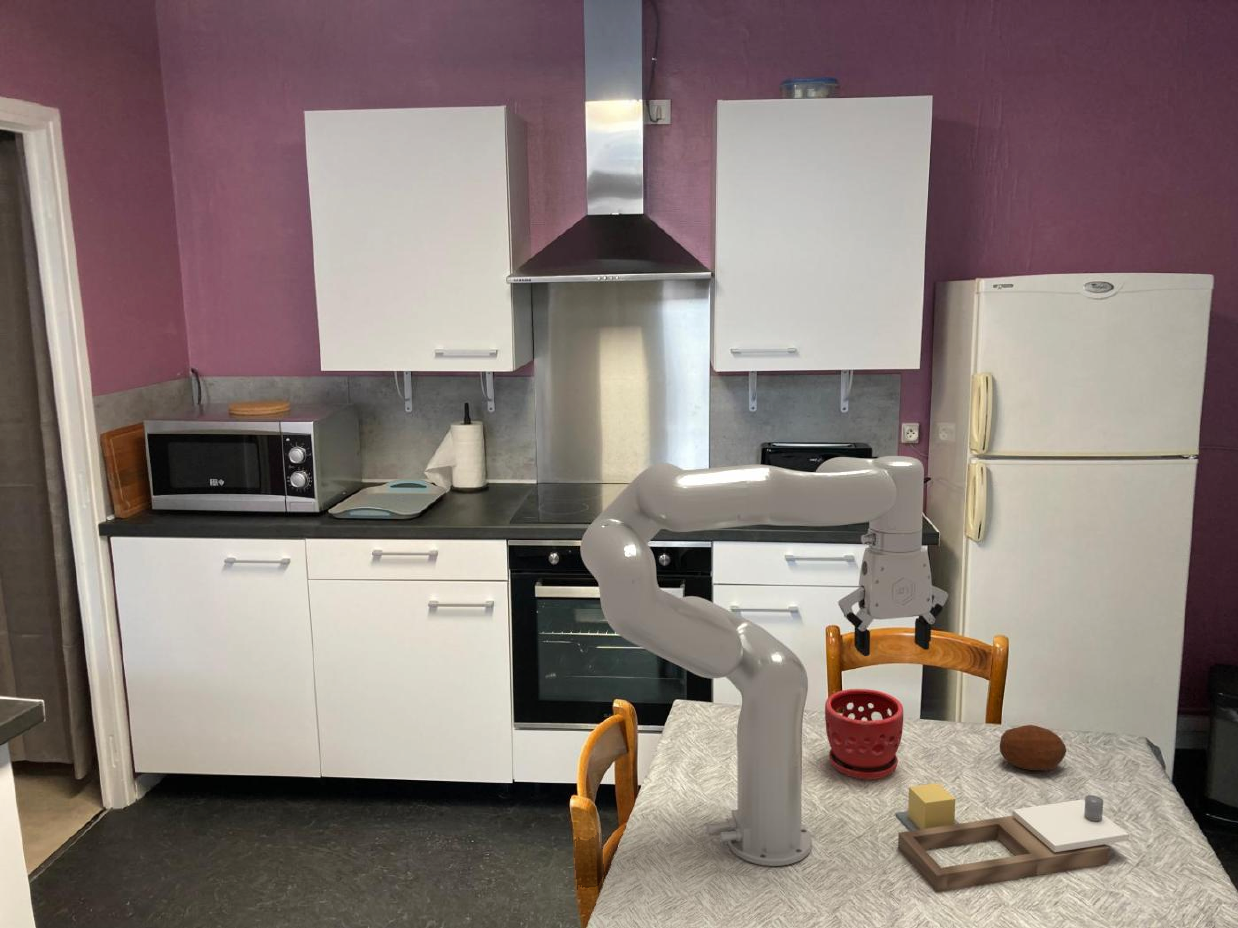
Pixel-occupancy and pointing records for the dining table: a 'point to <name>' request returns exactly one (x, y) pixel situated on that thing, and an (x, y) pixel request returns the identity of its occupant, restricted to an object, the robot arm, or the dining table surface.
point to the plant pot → (864, 733)
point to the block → (931, 806)
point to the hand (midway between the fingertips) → (892, 649)
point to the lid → (1071, 824)
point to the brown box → (1013, 835)
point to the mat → (909, 821)
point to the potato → (1032, 748)
